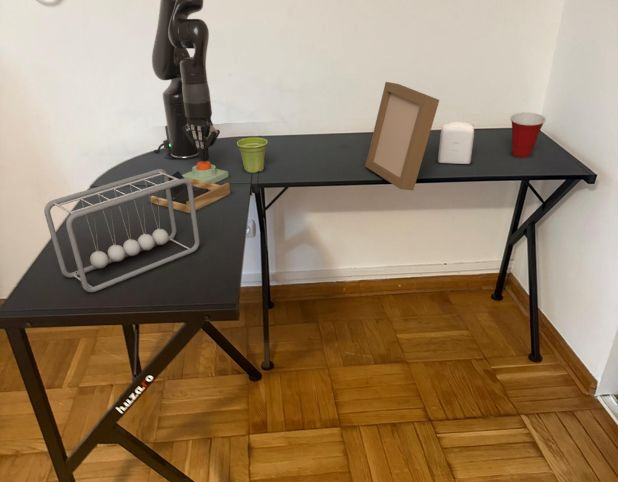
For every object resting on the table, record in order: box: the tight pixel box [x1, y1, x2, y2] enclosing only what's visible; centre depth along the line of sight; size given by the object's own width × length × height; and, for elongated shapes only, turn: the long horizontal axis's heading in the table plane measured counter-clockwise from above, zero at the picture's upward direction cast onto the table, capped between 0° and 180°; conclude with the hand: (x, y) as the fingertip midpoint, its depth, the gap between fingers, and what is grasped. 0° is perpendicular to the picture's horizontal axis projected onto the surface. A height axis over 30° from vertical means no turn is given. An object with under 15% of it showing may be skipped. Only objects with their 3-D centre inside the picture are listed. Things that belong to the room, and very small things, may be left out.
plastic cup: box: [509, 111, 547, 158], centre depth 192 cm, size 11×11×12 cm
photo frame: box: [364, 81, 440, 191], centre depth 174 cm, size 15×22×25 cm
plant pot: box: [236, 136, 269, 174], centre depth 186 cm, size 9×9×9 cm
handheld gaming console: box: [161, 170, 209, 204], centre depth 169 cm, size 12×7×10 cm
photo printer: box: [437, 121, 475, 165], centre depth 187 cm, size 10×4×12 cm, turn 78°
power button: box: [196, 160, 211, 170], centre depth 180 cm, size 4×4×2 cm
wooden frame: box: [150, 179, 231, 214], centre depth 169 cm, size 14×17×3 cm
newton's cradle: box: [43, 168, 201, 293], centre depth 132 cm, size 30×10×18 cm, turn 135°
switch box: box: [181, 163, 229, 184], centre depth 181 cm, size 10×10×4 cm
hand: (204, 160), depth 179 cm, fingers closed
